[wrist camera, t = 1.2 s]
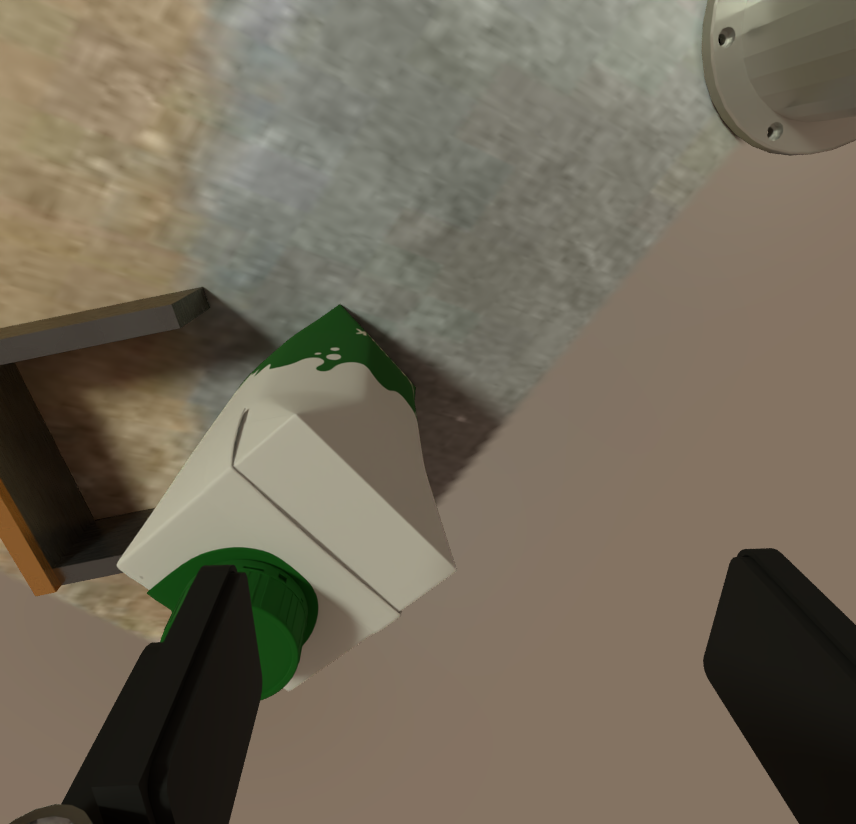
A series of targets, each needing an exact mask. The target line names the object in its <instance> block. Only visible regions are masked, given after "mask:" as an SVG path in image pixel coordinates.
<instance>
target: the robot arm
mask: <svg viewBox="0 0 856 824" xmlns="http://www.w3.org/2000/svg"><path fill="white" fill-rule="evenodd" d="M718 37H720V40H721V43H720V45H719V42H718ZM702 60H703V68H704V77H705V80H706V84H707V87H708V90H709V93H710V97H711V100H712V102H713V104H714V105H715V107H716V109H717V111H718V113H719V114H720V116H721V118H722V120H723V121H724V122H725V123H726V124H727V125H728V126H729V128H730V129H731V130H732V131H733V132H734V133H735V134H736V135H737V136H738V137H740V138H741V139H743V140H744V141H746V142H747V143H748V144H750V145H751V146H753V147H756V148H759V149H761V150H764V151H767V152H769V153H775V154H783V155H804V154H814V153H819V152H824V151H829V150H833V149H836V148H838V147H841V146H843V145H845V144H848V143H850V142H853V141H855V140H856V0H708V1H707V6H706V11H705V16H704V21H703V31H702ZM767 131H768V134H767ZM703 662H704V670H705V673H706V675H707V678H708V679H709V681H710V683H711V684H712V686H713V688H714V689H715V691H716V692H717V694H718V695H719V697H720V699H721V700H722V702H723V703H724V705H725V707H726V708H727V710H728V711H729V713H730V715H731V716H732V718H733V719H734V721H735V723H736V724H737V726H738V727H739V729H740V730H741V732H742V734H743V735H744V737H745V738H746V740H747V741H748V743H749V745H750V746H751V748H752V750H753V751H754V753H755V754H756V756H757V757H758V759H759V761H760V762H761V764H762V765H763V767H764V769H765V770H766V772H767V773H768V775H769V777H770V778H771V780H772V781H773V783H774V785H775V786H776V788H777V789H778V791H779V793H780V794H781V796H782V797H783V799H784V800H785V802H786V804H787V805H788V807H789V808H790V810H791V811H792V813H793V815H794V816H795V818H796V819H797V821H798V823H799V824H856V625H855V624H854V623H853V622H852V621H851V620H850V619H849V618H848V617H847V616H846V615H845V614H844V613H843V612H842V611H841V610H840V609H839V608H838V607H836V606H835V605H834V604H833V603H832V602H831V601H830V600H829V599H828V598H827V597H826V596H825V595H824V594H823V593H822V592H821V591H820V590H819V589H818V588H817V587H816V586H815V585H814V584H812V582H811V581H810V580H809V579H808V578H807V577H805V576H804V575H803V574H802V573H801V572H800V571H799V570H798V569H797V568H796V567H795V566H794V565H793V564H792V563H791V562H790V561H789V560H788V559H787V558H786V557H784V555H783V554H782V553H780V552H779V551H778V550H776V549H772V548H769V549H768V548H766V549H744V550H741V551H740V552H739V553H738V555H737V557H735V558H733V559H732V560H731V562H730V564H729V568H728V571H727V575H726V579H725V583H724V586H723V589H722V593H721V597H720V600H719V604H718V607H717V611H716V615H715V618H714V622H713V626H712V629H711V633H710V636H709V640H708V644H707V647H706V651H705V655H704V659H703ZM261 694H262V671H261V665H260V658H259V651H258V645H257V638H256V631H255V625H254V618H253V612H252V605H251V598H250V592H249V585H248V579H247V575H246V573H245V572H237V568H236V566H235V565H204V566H202V567H201V568H200V570H199V571H198V573H197V575H196V577H195V579H194V581H193V583H192V585H191V587H190V589H189V591H188V593H187V595H186V597H185V599H184V601H183V603H182V605H181V607H180V609H179V611H178V613H177V615H176V617H175V619H174V621H173V624H172V626H171V628H170V630H169V632H168V634H167V636H166V638H165V640H164V642H157V643H150V644H149V645H148V646H146V647H145V649H144V650H143V652H142V653H141V655H140V657H139V659H138V661H137V663H136V665H135V666H134V668H133V670H132V672H131V674H130V676H129V677H128V679H127V681H126V683H125V685H124V687H123V689H122V691H121V693H120V694H119V696H118V698H117V700H116V702H115V704H114V706H113V708H112V710H111V711H110V713H109V715H108V717H107V719H106V721H105V723H104V725H103V727H102V729H101V730H100V732H99V734H98V736H97V738H96V740H95V742H94V743H93V745H92V747H91V749H90V751H89V753H88V755H87V757H86V758H85V760H84V762H83V764H82V766H81V768H80V770H79V772H78V774H77V775H76V777H75V779H74V781H73V783H72V785H71V787H70V789H69V791H68V792H67V794H66V796H65V798H64V800H63V802H62V804H61V805H60V804H54V805H50V806H46V807H43V808H39V809H35V810H33V811H31V812H29V813H27V814H25V815H23V816H21V817H19V818H17V819H15V820H14V821H12V822H11V823H9V824H229V820H230V816H231V812H232V809H233V805H234V801H235V797H236V793H237V789H238V785H239V781H240V777H241V773H242V769H243V765H244V762H245V758H246V753H247V750H248V746H249V742H250V738H251V734H252V730H253V726H254V722H255V719H256V714H257V711H258V707H259V703H260V699H261Z"/></svg>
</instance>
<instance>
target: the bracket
mask: <svg viewBox="0 0 856 824" xmlns="http://www.w3.org/2000/svg"><path fill="white" fill-rule="evenodd" d="M208 308H210V306H209V303H208V301H207V298H206V295H205V292H204V289H203V287H200V288H195V289H190V290H185V291H180V292H175V293H171V294H166V295H161V296H156V297H151V298H146V299H141V300H136V301H132V302H127V303H122V304H117V305H112V306H107V307H102V308H97V309H92V310H88V311H83V312H78V313H73V314H68V315H63V316H58V317H53V318H49V319H44V320H39V321H34V322H29V323H24V324H19V325H14V326H9V327H5V328H0V538H1V540H2V541H3V543H4V545H5V546H6V548H7V550H8V551H9V553H10V555H11V556H12V558H13V560H14V561H15V563H16V565H17V566H18V568H19V570H20V571H21V573H22V575H23V576H24V578H25V580H26V581H27V583H28V585H29V586H30V588H31V590H32V591H33V593H34V595H35V596H40V595H44V594H49V593H54V592H56V591H57V590H58V589H59V588H60V586H61V585H65V584H70V583H75V582H80V581H85V580H90V579H95V578H99V577H104V576H109V575H114V574H119V573H123V572H122V571H121V570H120V569H118V567H117V562H118V561H119V559H120V558H121V557H122V555H123V554H124V552H125V551H126V549H127V548H128V547H129V545H130V544H131V542H132V541H133V539H134V538H135V537H136V535H137V534H138V532H139V531H140V529H141V528H142V527H143V525H144V524H145V522H146V521H147V519H148V518H149V517H150V515H151V514H152V512H153V511H154V509H155V508H153V509H148V510H143V511H138V512H133V513H129V514H124V515H119V516H114V517H109V518H104V519H99V520H94V519H93V517H92V515H91V513H90V511H89V509H88V507H87V505H86V503H85V501H84V499H83V497H82V495H81V493H80V491H79V489H78V487H77V485H76V483H75V481H74V479H73V478H72V476H71V474H70V472H69V470H68V468H67V466H66V464H65V462H64V460H63V458H62V456H61V454H60V452H59V450H58V448H57V446H56V444H55V442H54V440H53V438H52V436H51V434H50V432H49V430H48V429H47V427H46V425H45V423H44V421H43V419H42V417H41V415H40V413H39V411H38V409H37V407H36V405H35V403H34V401H33V399H32V397H31V395H30V393H29V391H28V389H27V387H26V385H25V383H24V381H23V380H22V378H21V376H20V374H19V372H18V370H17V368H16V366H15V364H14V362H17V361H22V360H27V359H32V358H37V357H42V356H47V355H52V354H56V353H61V352H66V351H71V350H76V349H81V348H86V347H91V346H96V345H100V344H105V343H110V342H115V341H120V340H125V339H130V338H135V337H140V336H144V335H149V334H154V333H159V332H164V331H169V330H174V329H179V328H181V327H183V326H184V325H185V324H187V323H188V322H190V321H191V320H193V319H194V318H196V317H197V316H198V315H200V314H201V313H203V312H204V311H206V310H207V309H208Z"/></svg>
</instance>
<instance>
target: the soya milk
mask: <svg viewBox="0 0 856 824" xmlns="http://www.w3.org/2000/svg"><path fill="white" fill-rule="evenodd" d="M415 390H416V387H415V386H414V385H413V384H412V382H411V381H410V380H409V379H408V378H407V376H406V375H405V374H404V373H403V372H402V371H401V370H400V369H399V368H398V366H397V365H396V364H395V363H394V362H393V361H392V360H391V359H390V358H389V357H388V355H387V354H386V353H385V352H384V351H383V350H382V349H381V348H380V347H379V345H378V344H377V343H376V342H375V341H374V340H373V339H372V338H371V337H370V336H369V334H368V333H367V332H366V331H365V330H364V329H363V328H362V327H361V326H360V325H359V324H358V323H357V322H356V320H355V319H354V318H353V317H352V316H351V315H350V314H349V313H348V312H347V311H346V310H345V309H344V308H343V307H342V306H341V305H340V304H339V305H338V306H337V307H335V308H334V309H332V310H331V311H330V312H328V313H327V314H325V315H324V316H322V317H321V318H319V319H318V320H317V321H315V322H313V323H312V324H310V325H309V326H307V327H306V328H304V329H303V330H301V331H300V332H298V333H297V334H295V335H294V336H293V337H291V338H290V339H289V340H287V341H286V342H285V343H284V344H283V345H282V346H280V347H279V348H278V349H277V350H276V351H275V352H274V353H272V354H271V355H270V356H269V357H268V358H267V359H266V360H265V361H263V362H262V363H261V364H260V365H259V366H258V367H257V368H256V369H255V370H254V371H253V372H252V373H251V374H250V375H249V376H248V377H247V378H246V379H245V380H244V382H243V383H242V384H241V386H240V387H239V388H238V390H237V391H236V392H235V394H234V395H233V397H232V398H231V399H230V401H229V402H228V404H227V405H226V406H225V408H224V409H223V411H222V412H221V413H220V415H219V416H218V418H217V419H216V420H215V422H214V423H213V424H212V426H211V427H210V429H209V430H208V431H207V433H206V434H205V436H204V437H203V438H202V440H201V441H200V443H199V444H198V446H197V447H196V448H195V450H194V451H193V453H192V454H191V456H190V457H189V458H188V460H187V461H186V463H185V464H184V466H183V467H182V469H181V470H180V472H179V473H178V475H177V476H176V478H175V479H174V481H173V482H172V484H171V485H170V487H169V488H168V490H167V491H166V493H165V494H164V496H163V497H162V499H161V500H160V502H159V503H158V505H157V506H156V508H155V509H154V511H153V512H152V514H151V515H150V517H149V518H148V519H147V521H146V522H145V524H144V525H143V527H142V528H141V529H140V531H139V532H138V534H137V535H136V537H135V538H134V539H133V541H132V542H131V544H130V545H129V547H128V548H127V549H126V551H125V552H124V554H123V555H122V557H121V558H120V559H119V561H118V562H117V567H118V569H120V570H121V571H122V572H123V573H125V574H126V575H128V576H129V577H130V578H132V579H134V580H135V581H137V582H138V583H140V584H141V585H143V586H145V587H146V588H147V589H149V591H148V592H147V594H148V595H150V596H151V597H152V598H154V599H155V600H156V601H158V602H159V603H161V604H163V605H164V606H166V607H167V608H169V609H170V610H171V611H172V614H171V616H170V618H169V621H168V623H167V625H166V627H165V629H164V633H163V635H162V637H161V641H160V642H164V640H165V638H166V636H167V634H168V632H169V630H170V628H171V626H172V624H173V621H174V619H175V617H176V615H177V613H178V611H179V609H180V607H181V605H182V603H183V601H184V599H185V597H186V595H187V593H188V591H189V589H190V587H191V585H192V583H193V581H194V579H195V577H196V575H197V573H198V571H199V570H200V568H201V567H202V566H204V565H235V566H236V568H237V572H245V573H246V575H247V579H248V585H249V592H250V598H251V605H252V612H253V618H254V625H255V631H256V638H257V645H258V651H259V658H260V665H261V671H262V694H261V699H260V700H263V699H266V698H268V697H270V696H272V695H274V694H276V693H277V692H279V691H280V690H281V689H283V688H284V689H285V690H287V691H291V690H293V689H294V688H296V687H297V686H298V685H300V684H302V683H303V682H305V681H306V680H307V679H309V678H310V677H312V676H313V675H314V674H316V673H317V672H319V671H320V670H322V669H323V668H325V667H326V666H328V665H329V664H331V663H332V662H334V661H335V660H336V659H338V658H339V657H341V656H342V655H343V654H345V653H346V652H348V651H349V650H350V649H352V648H354V647H355V646H357V645H358V644H360V643H361V642H362V641H364V640H365V639H367V638H368V637H370V636H371V635H372V634H374V633H377V632H379V631H381V630H382V629H384V628H385V627H387V626H388V625H390V624H391V623H393V622H394V621H395V620H396V619H398V618H399V617H400V616H401V613H402V610H403V609H404V608H405V607H407V606H409V605H410V604H411V603H413V602H414V601H415V600H417V599H418V598H420V597H421V596H422V595H424V594H425V593H427V592H428V591H430V590H431V589H432V588H434V587H435V586H437V585H438V584H440V583H441V582H442V581H444V580H445V579H447V578H448V577H449V576H451V575H452V574H453V573H455V572H456V571H457V568H456V565H455V562H454V559H453V556H452V553H451V550H450V547H449V544H448V541H447V538H446V535H445V531H444V528H443V525H442V522H441V519H440V516H439V513H438V509H437V506H436V503H435V500H434V497H433V493H432V490H431V487H430V484H429V480H428V477H427V474H426V470H425V466H424V461H423V455H422V449H421V442H420V435H419V429H418V422H417V415H416V408H415V402H414V400H415Z"/></svg>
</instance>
